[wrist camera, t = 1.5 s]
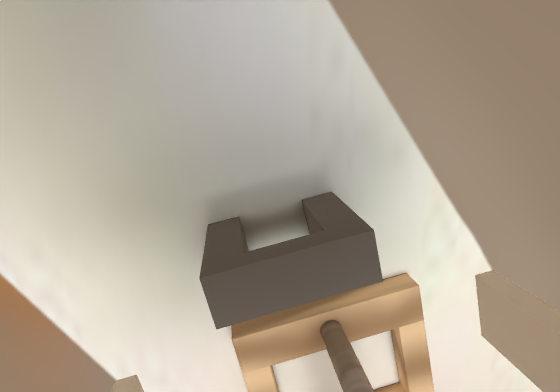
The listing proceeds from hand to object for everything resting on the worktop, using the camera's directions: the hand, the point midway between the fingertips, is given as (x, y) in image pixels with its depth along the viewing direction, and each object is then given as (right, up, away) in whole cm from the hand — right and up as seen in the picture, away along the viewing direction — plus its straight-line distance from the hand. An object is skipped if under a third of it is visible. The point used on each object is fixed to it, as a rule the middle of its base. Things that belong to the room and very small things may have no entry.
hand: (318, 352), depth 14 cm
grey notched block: (-2, +4, +13) cm, 13 cm away
